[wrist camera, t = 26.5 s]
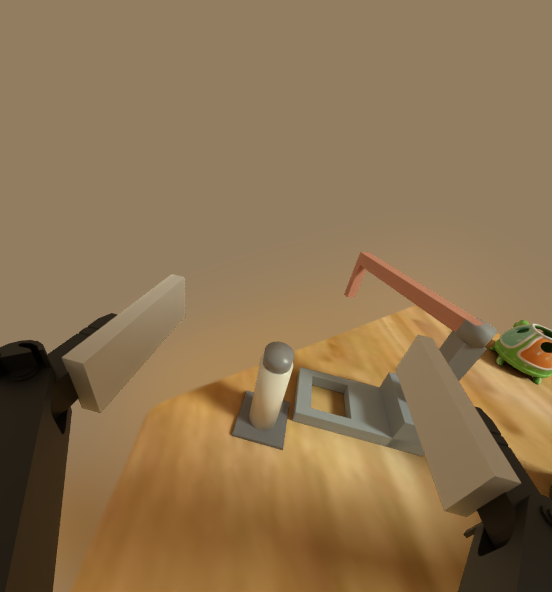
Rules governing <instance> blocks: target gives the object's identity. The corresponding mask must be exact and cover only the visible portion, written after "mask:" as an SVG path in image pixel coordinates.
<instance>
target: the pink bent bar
mask: <svg viewBox="0 0 552 592" xmlns="http://www.w3.org/2000/svg"><path fill="white" fill-rule="evenodd" d="M366 270H368V271H369V272H371V273H372V274H373V275H375V276H376V277H378V278H379V279H380V280H382V281H383V282H385V283H386V284H388V285H389V286H390V287H392V288H393V289H395V290H396V291H397V292H399V293H400V294H402V295H403V296H405V297H406V298H407V299H409V300H410V301H412V302H413V303H415V304H416V305H417V306H419V307H420V308H422V309H423V310H424V311H426V312H427V313H429V314H430V315H431V316H433V317H434V318H436V319H437V320H439V321H440V322H441V323H443V324H444V325H446V326H447V327H448V328H450V329H451V330H453V331H454V332H455V334H456V336H457V337H458V338H459V339H460V340H462V341H463V342H465V343H466V344H468V345H470V346H473V347H476V348H484V347H485V346H486V345H487V344H488V343H489V342H490V340H491V339H492V338H493V337H494V336H495V335H496V333H497V330H496V329H495V328H494V327H493V326H491V325H490V324H488V323H487V322H485V321H483V320H480V319H478V318H475V317H473V316H471V315H470V314H468V313H466V312H465V311H463V310H462V309H460V308H459V307H457V306H455V305H453V304H452V303H450V302H449V301H447V300H445V299H444V298H442V297H441V296H439V295H437V294H436V293H434V292H432V291H431V290H429V289H428V288H426V287H424V286H423V285H421V284H419V283H418V282H416V281H415V280H413V279H411V278H410V277H408V276H406V275H405V274H403V273H401V272H400V271H398V270H397V269H395V268H393V267H392V266H390V265H388V264H387V263H385V262H383V261H382V260H380V259H379V258H377V257H375V256H374V255H372V254H371V253H369V252H360V255H359V258H358V260H357V263H356V265H355V268H354V270H353V273H352V276H351V278H350V281H349V284H348V286H347V289H346V291H345V295H346V296H347V297H355V295H356V293H357V291H358V288H359V286H360V283H361V281H362V279H363V276H364V274H365V271H366Z"/></svg>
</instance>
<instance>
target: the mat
mask: <svg viewBox="0 0 552 592" xmlns="http://www.w3.org/2000/svg"><path fill="white" fill-rule="evenodd" d="M253 395H254V392H250V391H246V394H245V397H244V400H243V403H242V406H241V409H240V412H239V415H238V418H237V421H236V424H235V427H234V430H233V433H232V436H235V437H238V438H242V439H245V440H249V441H253V442H256V443H260V444H263V445H267V446H270V447H274V448H277V449H281V450H283V445H284V438H285V430H286V423H287V416H288V409H289V402H287V401H283V402H282V405H281V408H280V411H279V414H278V418H277V421H276V424H275V425H274V427H273V428H271V429H269V430H266V431H261V430H258V429H256V428H255V427H254V426H253V425H252V424H251V422H250V419H249V414H250V410H251V405H252V400H253Z"/></svg>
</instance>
